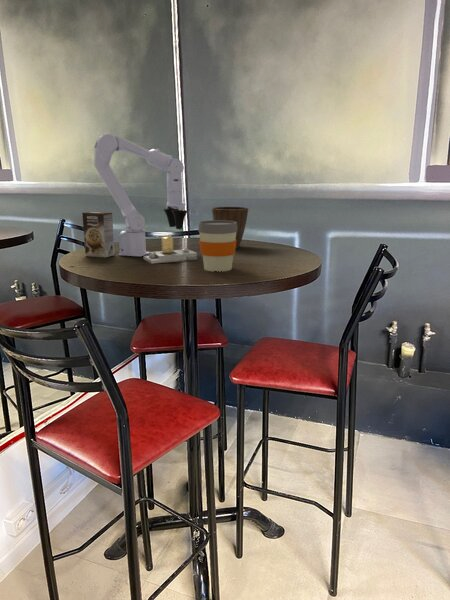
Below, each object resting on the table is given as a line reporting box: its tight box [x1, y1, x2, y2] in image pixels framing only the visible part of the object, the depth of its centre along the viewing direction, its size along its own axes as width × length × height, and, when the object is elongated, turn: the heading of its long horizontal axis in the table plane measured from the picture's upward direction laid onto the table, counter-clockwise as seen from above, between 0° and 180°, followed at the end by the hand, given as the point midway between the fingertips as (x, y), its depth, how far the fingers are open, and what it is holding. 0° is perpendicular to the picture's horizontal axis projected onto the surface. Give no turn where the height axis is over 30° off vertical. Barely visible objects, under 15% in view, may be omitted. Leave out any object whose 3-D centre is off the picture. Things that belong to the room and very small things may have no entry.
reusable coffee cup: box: [197, 220, 237, 273], centre depth 151 cm, size 13×13×15 cm
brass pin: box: [161, 236, 174, 255], centre depth 167 cm, size 4×4×8 cm
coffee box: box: [81, 211, 115, 259], centre depth 174 cm, size 9×6×16 cm
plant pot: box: [211, 206, 249, 249], centre depth 192 cm, size 15×15×16 cm
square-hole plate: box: [143, 248, 198, 265], centre depth 168 cm, size 17×9×3 cm, turn 116°
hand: (175, 227), depth 180 cm, fingers open, 7 cm apart
